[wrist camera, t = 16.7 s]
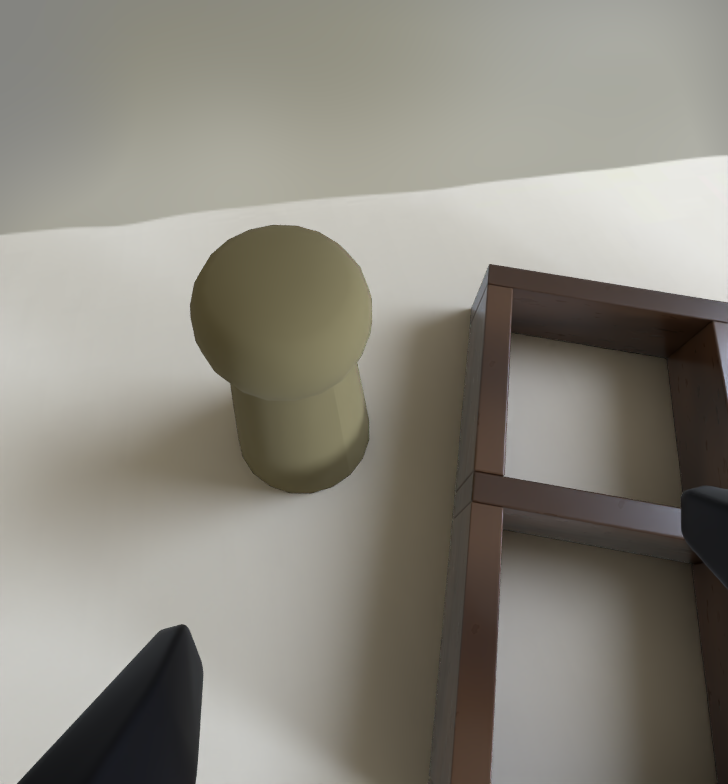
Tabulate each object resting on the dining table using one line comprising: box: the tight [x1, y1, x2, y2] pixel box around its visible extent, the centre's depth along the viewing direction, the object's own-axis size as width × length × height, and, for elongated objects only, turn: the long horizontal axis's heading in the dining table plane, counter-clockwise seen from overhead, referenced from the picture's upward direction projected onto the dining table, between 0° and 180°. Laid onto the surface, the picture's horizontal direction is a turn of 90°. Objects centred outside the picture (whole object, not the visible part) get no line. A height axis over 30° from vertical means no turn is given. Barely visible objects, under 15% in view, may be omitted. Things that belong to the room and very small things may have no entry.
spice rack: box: [429, 264, 728, 784], centre depth 20 cm, size 22×11×4 cm, turn 170°
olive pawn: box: [190, 225, 372, 493], centre depth 18 cm, size 6×6×11 cm
